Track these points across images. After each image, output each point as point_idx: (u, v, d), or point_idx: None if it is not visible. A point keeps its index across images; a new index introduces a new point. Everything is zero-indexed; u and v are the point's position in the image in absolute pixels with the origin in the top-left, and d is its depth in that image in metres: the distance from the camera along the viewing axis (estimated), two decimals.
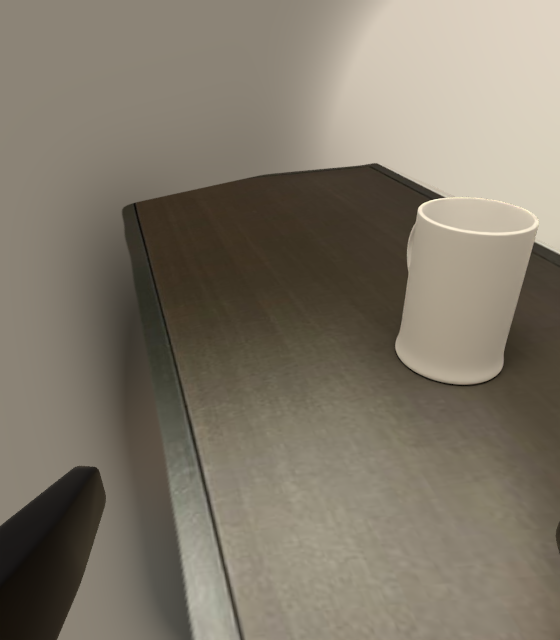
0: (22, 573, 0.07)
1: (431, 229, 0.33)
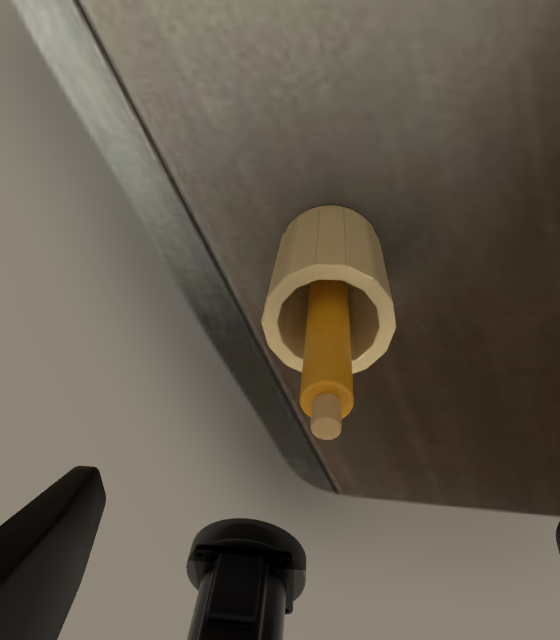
0: (22, 573, 0.07)
1: None
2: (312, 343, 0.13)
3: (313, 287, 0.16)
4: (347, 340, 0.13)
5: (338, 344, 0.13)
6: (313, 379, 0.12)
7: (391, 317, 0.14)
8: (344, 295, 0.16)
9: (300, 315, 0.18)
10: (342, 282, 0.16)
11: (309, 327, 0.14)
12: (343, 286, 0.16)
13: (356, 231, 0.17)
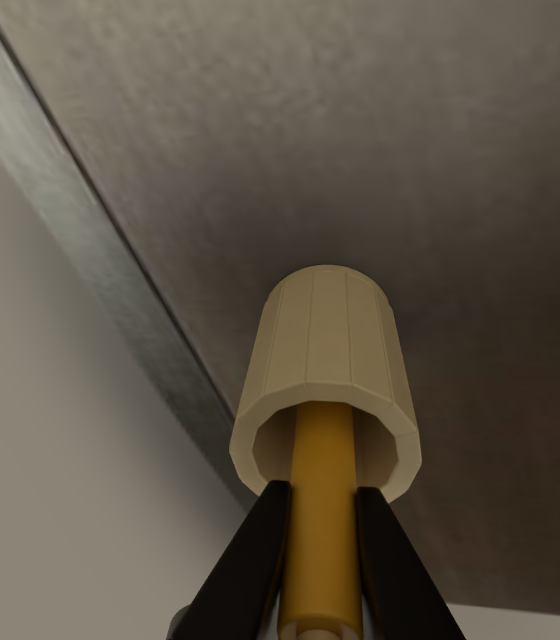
0: (271, 596, 0.07)
1: None
2: (298, 510, 0.09)
3: None
4: (352, 501, 0.09)
5: (338, 517, 0.08)
6: (298, 604, 0.07)
7: (415, 450, 0.10)
8: (347, 406, 0.11)
9: (287, 415, 0.13)
10: None
11: (296, 471, 0.10)
12: None
13: (363, 310, 0.12)
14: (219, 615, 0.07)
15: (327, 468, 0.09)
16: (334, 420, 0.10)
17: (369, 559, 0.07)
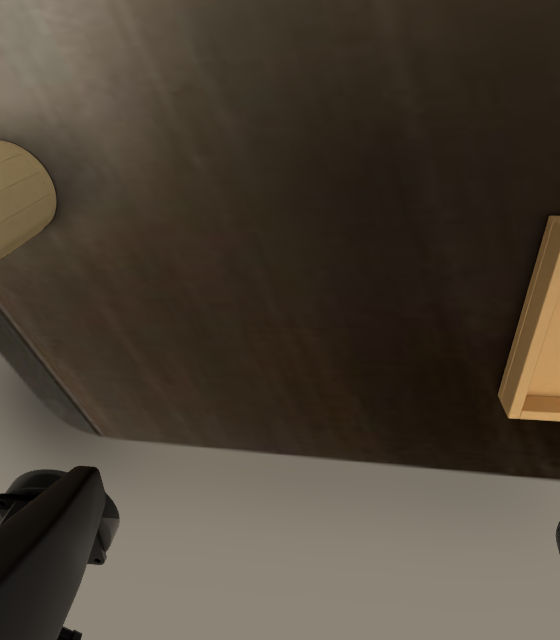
0: (22, 573, 0.07)
1: None
2: None
3: None
4: None
5: None
6: None
7: None
8: None
9: None
10: None
11: None
12: None
13: None
14: None
15: None
16: None
17: None
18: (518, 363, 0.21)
